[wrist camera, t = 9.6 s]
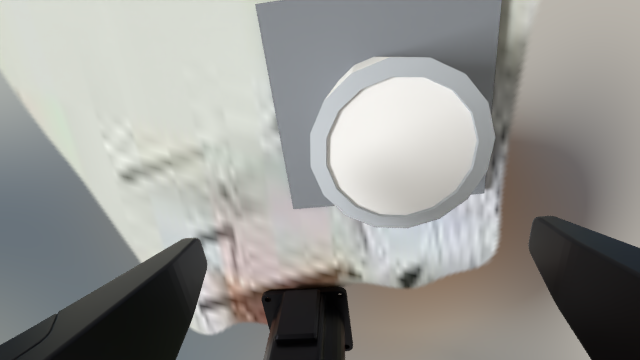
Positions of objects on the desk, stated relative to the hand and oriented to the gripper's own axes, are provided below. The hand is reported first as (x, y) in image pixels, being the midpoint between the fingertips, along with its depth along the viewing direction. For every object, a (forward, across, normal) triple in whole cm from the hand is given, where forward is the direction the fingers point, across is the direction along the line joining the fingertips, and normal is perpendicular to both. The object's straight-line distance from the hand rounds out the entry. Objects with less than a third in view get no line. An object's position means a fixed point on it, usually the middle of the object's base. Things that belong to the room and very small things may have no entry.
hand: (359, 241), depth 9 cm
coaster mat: (+12, -2, -1) cm, 12 cm away
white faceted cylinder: (+12, -2, -1) cm, 12 cm away
